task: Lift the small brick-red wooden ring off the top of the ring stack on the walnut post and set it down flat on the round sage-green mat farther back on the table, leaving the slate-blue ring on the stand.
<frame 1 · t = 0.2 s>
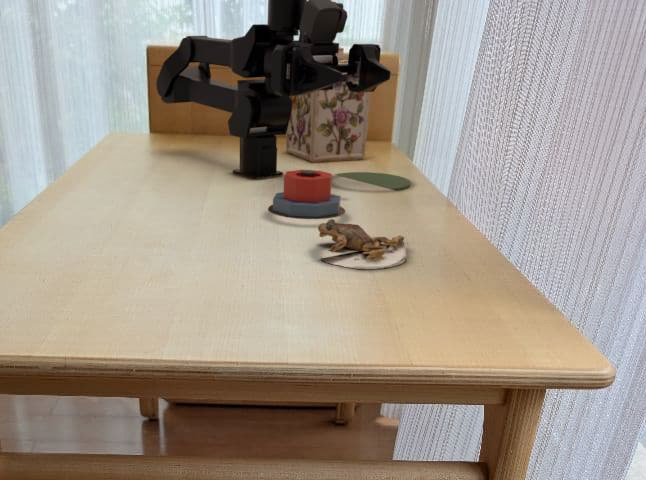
hand: (365, 76, 114), 17 cm above the table, tool horizontal, fingers open, 9 cm apart
stacker: (306, 216, 116), on the table
decorative jar: (324, 157, 157), on the table
mat: (368, 182, 136), on the table
bottom ring: (306, 209, 115), point 1 cm above the table, touching stacker, top ring
top ring: (307, 197, 114), point 3 cm above the table, touching bottom ring
frog figurine: (359, 257, 100), on the table
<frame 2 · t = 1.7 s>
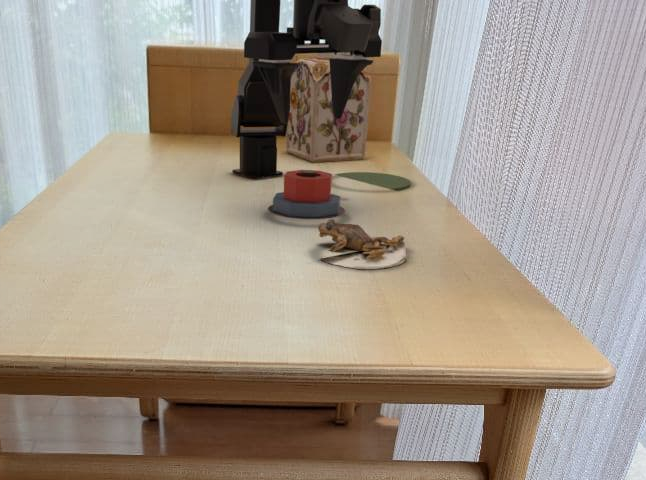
hand: (311, 120, 109), 12 cm above the table, tool pointing down, fingers open, 9 cm apart
nothing on the table moved.
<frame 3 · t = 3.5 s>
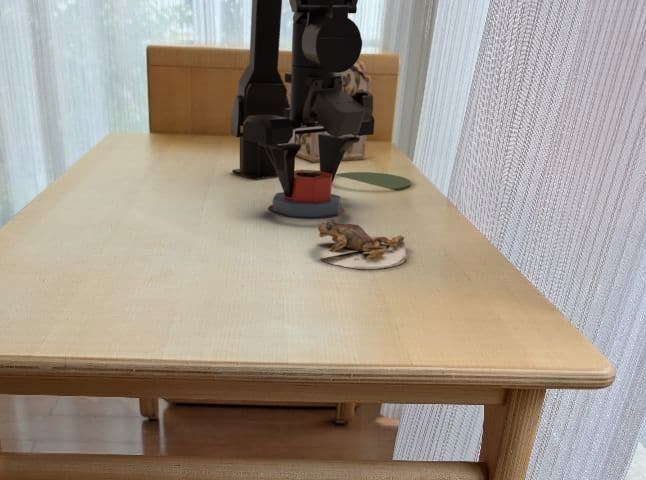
hand: (307, 194, 114), 3 cm above the table, tool pointing down, fingers closed on top ring, 6 cm apart
top ring: (307, 197, 114), point 3 cm above the table, touching bottom ring, gripper
everything else where it was.
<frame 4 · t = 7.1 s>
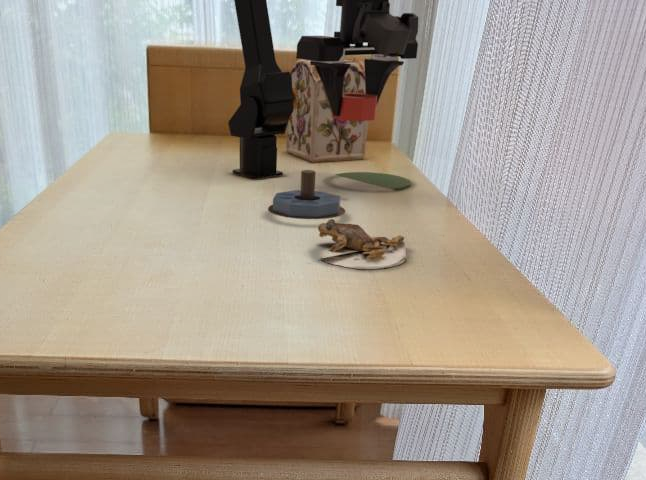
hand: (353, 114, 123), 11 cm above the table, tool pointing down, fingers closed on top ring, 6 cm apart
bottom ring: (306, 209, 115), point 1 cm above the table, touching stacker
top ring: (353, 117, 123), point 11 cm above the table, touching gripper
everything else where it was.
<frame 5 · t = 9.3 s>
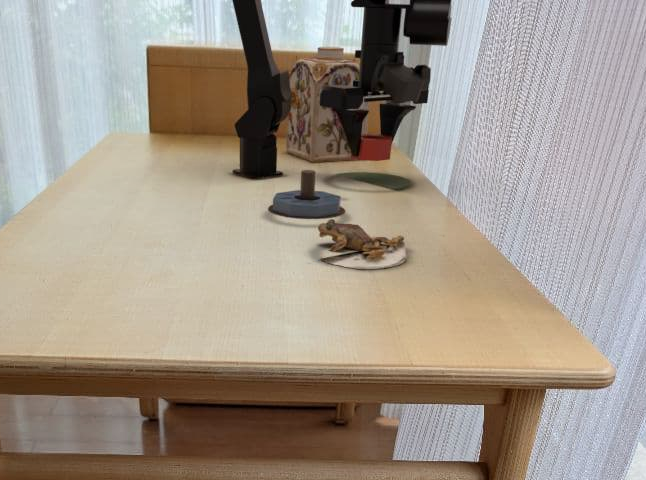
hand: (370, 154, 134), 4 cm above the table, tool pointing down, fingers closed on top ring, 6 cm apart
top ring: (370, 157, 134), point 4 cm above the table, touching gripper
everything else where it was.
when the fingers open (1 cm above the table, at t = 10.8 s): top ring stays where it is, resting on mat.
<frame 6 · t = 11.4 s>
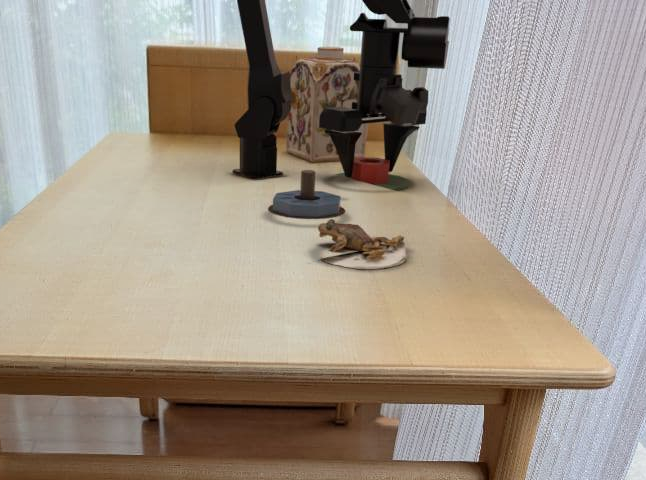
hand: (369, 174, 136), 1 cm above the table, tool pointing down, fingers open, 9 cm apart
top ring: (368, 180, 136), resting on mat
everything else where it was.
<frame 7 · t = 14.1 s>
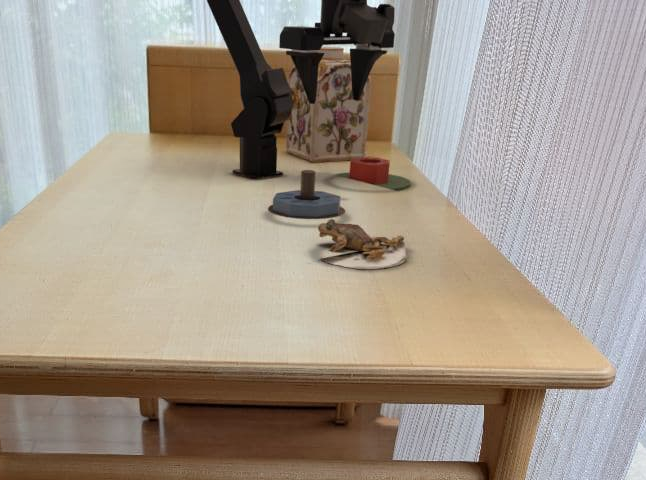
hand: (334, 102, 129), 12 cm above the table, tool pointing down, fingers open, 9 cm apart
nothing on the table moved.
at the end: top ring inside the target area on the mat (0.0 cm from its centre), point 0.4 cm above the mat's base; top ring tilted 0°; bottom ring moved 0.0 cm from its start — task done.
